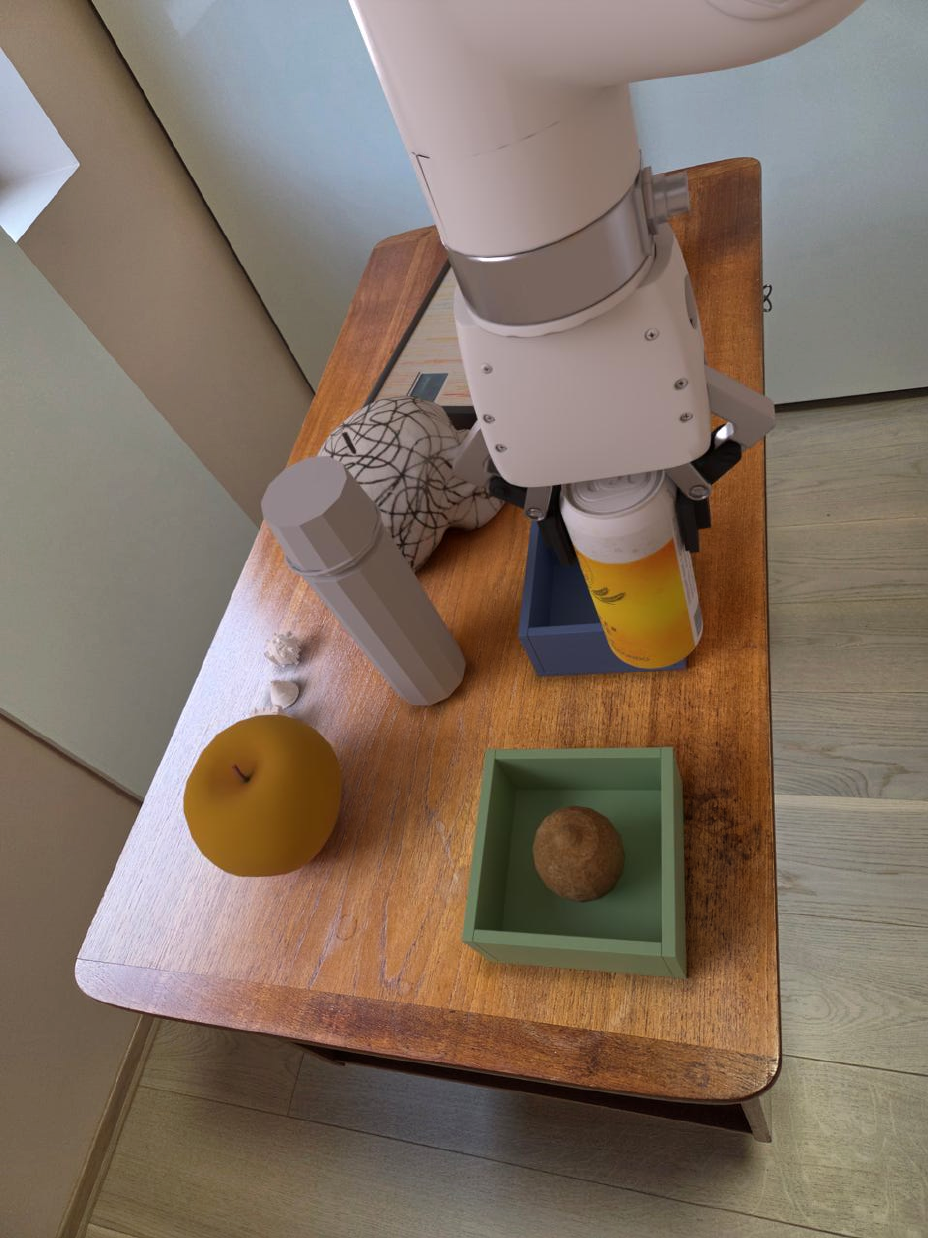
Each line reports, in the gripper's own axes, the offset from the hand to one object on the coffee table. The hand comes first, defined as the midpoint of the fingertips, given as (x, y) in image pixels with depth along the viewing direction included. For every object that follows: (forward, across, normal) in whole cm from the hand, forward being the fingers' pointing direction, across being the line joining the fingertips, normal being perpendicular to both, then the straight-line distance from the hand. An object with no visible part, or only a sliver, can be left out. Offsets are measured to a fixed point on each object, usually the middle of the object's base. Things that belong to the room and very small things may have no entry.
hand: (629, 538), depth 43 cm
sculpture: (+23, +26, -24) cm, 42 cm away
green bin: (+23, +7, +12) cm, 27 cm away
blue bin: (+23, +6, -12) cm, 27 cm away
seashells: (+23, +37, -4) cm, 44 cm away
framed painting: (+23, +18, -52) cm, 59 cm away
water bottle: (+23, +23, -6) cm, 33 cm away
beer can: (+10, 0, 0) cm, 10 cm away
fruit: (+23, +6, +12) cm, 27 cm away
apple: (+23, +32, +8) cm, 40 cm away
